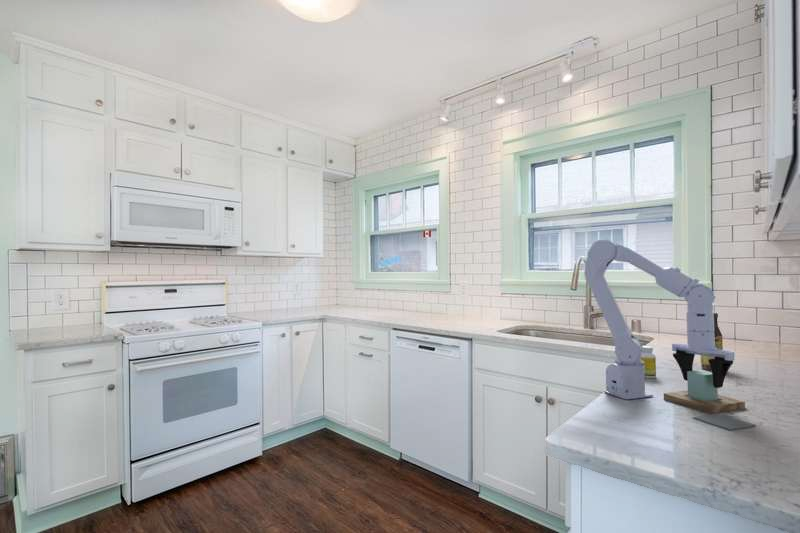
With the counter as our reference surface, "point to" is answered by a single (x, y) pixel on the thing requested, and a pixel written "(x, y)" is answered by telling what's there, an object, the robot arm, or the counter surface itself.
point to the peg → (701, 386)
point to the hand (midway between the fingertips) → (702, 383)
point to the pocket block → (709, 407)
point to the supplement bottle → (649, 361)
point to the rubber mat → (724, 421)
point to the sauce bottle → (718, 344)
